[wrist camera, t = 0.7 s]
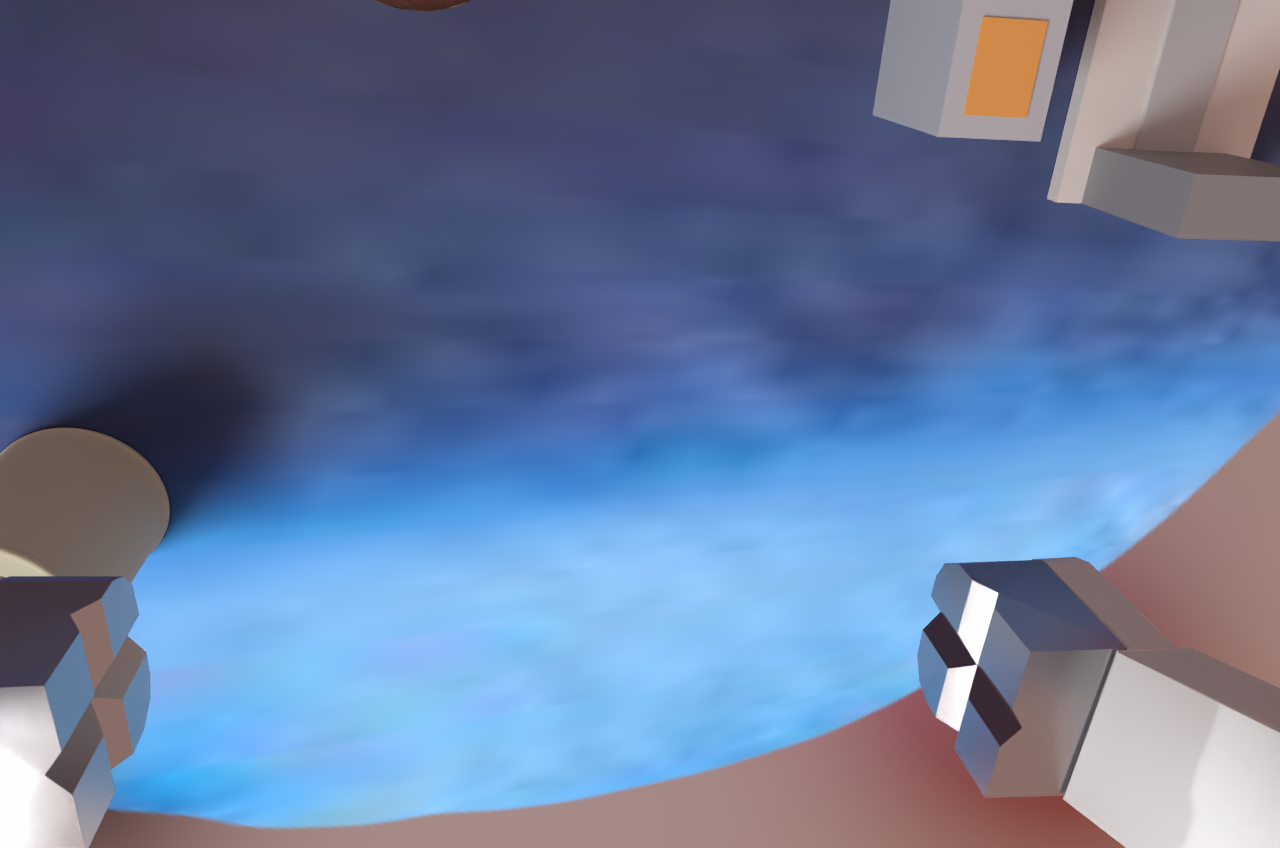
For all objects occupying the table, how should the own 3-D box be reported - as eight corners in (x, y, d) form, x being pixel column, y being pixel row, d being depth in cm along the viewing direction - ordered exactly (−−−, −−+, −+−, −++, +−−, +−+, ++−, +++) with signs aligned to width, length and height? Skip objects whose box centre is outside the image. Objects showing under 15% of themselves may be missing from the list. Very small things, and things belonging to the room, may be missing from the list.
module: (892, -11, 46) (966, -11, 39) (985, -4, 47) (1075, -3, 40) (872, 114, 49) (938, 137, 41) (961, 119, 49) (1041, 141, 42)
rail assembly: (1115, -85, 46) (1247, -100, 38) (1308, -68, 48) (1474, -79, 40) (1046, 198, 52) (1148, 237, 44) (1221, 204, 54) (1349, 243, 46)
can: (9, 572, 53) (-116, 722, 42) (-30, 426, 49) (-177, 549, 38) (181, 568, 54) (103, 712, 43) (157, 426, 50) (65, 545, 40)
